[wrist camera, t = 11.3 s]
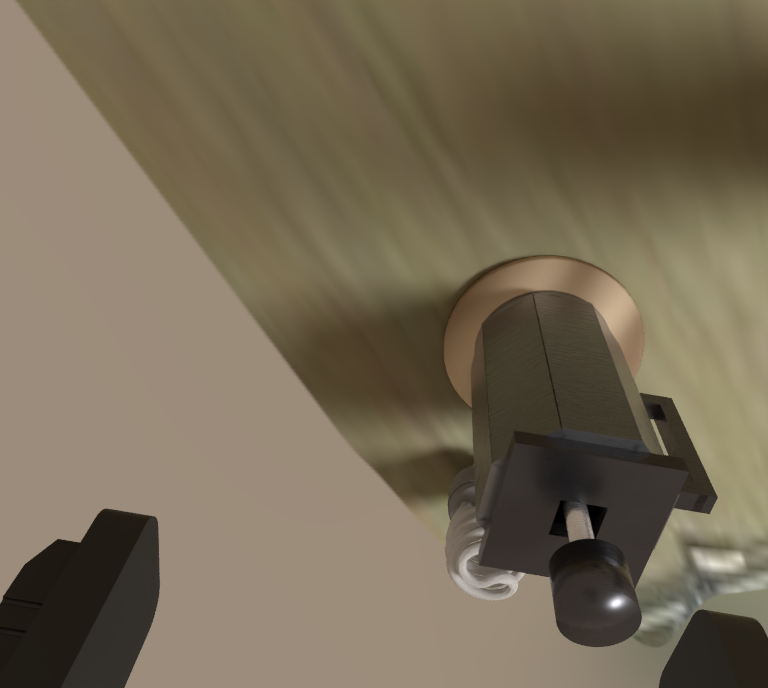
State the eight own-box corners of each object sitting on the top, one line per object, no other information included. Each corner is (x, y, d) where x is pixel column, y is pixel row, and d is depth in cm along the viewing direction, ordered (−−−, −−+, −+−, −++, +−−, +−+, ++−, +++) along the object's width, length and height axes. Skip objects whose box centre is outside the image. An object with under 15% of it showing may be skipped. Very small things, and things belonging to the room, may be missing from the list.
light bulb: (434, 478, 59) (430, 596, 48) (466, 429, 56) (469, 542, 46) (495, 503, 59) (504, 624, 49) (530, 456, 57) (547, 574, 46)
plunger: (611, 338, 47) (704, 578, 29) (582, 422, 50) (650, 680, 33) (508, 321, 47) (540, 551, 29) (486, 406, 50) (503, 656, 33)
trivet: (670, 273, 48) (673, 278, 47) (608, 437, 55) (610, 444, 54) (464, 240, 48) (464, 244, 47) (428, 408, 55) (428, 414, 55)
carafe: (675, 310, 49) (771, 474, 34) (630, 423, 53) (697, 610, 39) (490, 279, 49) (505, 430, 34) (462, 395, 53) (465, 571, 39)
